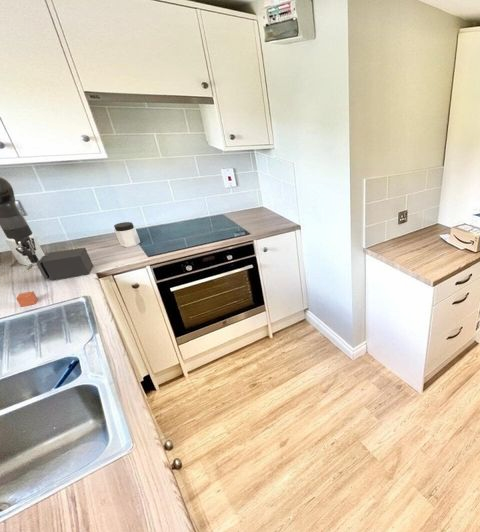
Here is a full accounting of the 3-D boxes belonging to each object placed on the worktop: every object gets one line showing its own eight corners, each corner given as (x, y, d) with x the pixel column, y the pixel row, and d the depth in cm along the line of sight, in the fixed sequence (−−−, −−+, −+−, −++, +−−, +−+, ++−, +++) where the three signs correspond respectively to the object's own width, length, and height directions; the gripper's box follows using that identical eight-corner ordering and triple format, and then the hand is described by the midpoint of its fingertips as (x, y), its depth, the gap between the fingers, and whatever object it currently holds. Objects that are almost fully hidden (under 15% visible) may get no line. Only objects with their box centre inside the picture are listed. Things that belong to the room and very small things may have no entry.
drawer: (28, 282, 142) (18, 266, 138) (35, 273, 149) (26, 258, 145) (78, 273, 150) (71, 258, 146) (83, 265, 157) (76, 251, 153)
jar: (134, 247, 180) (127, 226, 174) (118, 247, 178) (110, 227, 173) (143, 240, 188) (135, 221, 182) (127, 241, 186) (119, 221, 181)
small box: (39, 257, 165) (26, 233, 159) (47, 259, 164) (34, 235, 158) (18, 263, 159) (4, 239, 153) (27, 265, 157) (13, 241, 151)
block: (21, 306, 127) (15, 298, 125) (24, 302, 130) (19, 293, 128) (35, 304, 129) (30, 295, 127) (38, 299, 132) (33, 291, 130)
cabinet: (51, 281, 145) (41, 261, 141) (58, 271, 153) (48, 252, 149) (89, 274, 151) (80, 255, 147) (93, 265, 159) (85, 247, 155)
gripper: (8, 222, 139) (28, 258, 147) (-5, 232, 129) (18, 270, 137) (32, 219, 142) (51, 254, 150) (21, 229, 133) (42, 266, 141)
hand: (35, 262), depth 144 cm, fingers closed
